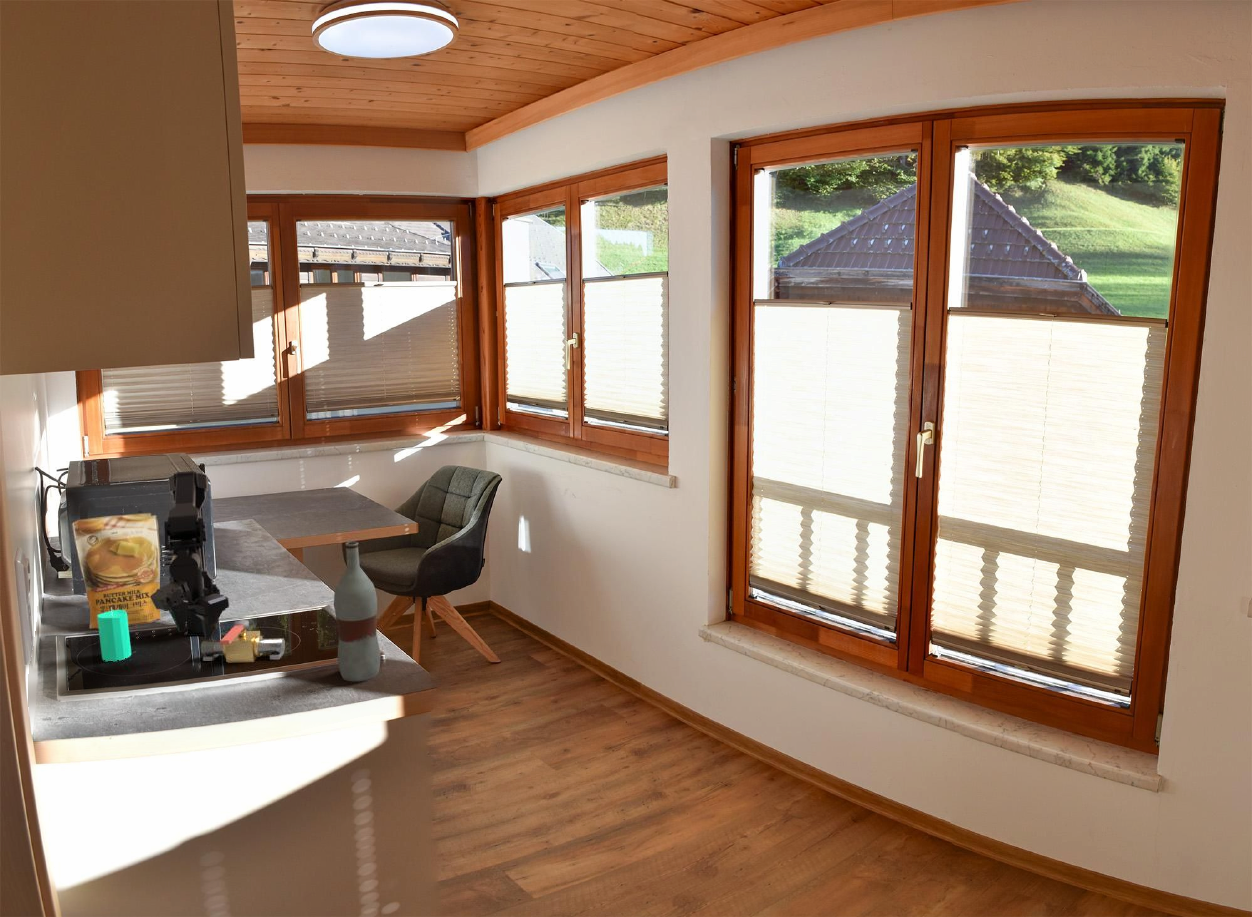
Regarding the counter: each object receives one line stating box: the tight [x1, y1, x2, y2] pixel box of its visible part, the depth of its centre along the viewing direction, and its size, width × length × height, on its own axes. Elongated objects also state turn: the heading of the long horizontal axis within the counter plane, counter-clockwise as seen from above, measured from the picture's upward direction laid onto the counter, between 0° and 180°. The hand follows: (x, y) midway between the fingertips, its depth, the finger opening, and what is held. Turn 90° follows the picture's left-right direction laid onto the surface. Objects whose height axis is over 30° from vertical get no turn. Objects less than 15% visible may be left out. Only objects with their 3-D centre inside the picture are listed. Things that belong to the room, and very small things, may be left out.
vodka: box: [333, 541, 382, 683], centre depth 207 cm, size 9×9×30 cm
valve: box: [200, 628, 286, 664], centre depth 219 cm, size 18×6×7 cm, turn 94°
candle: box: [97, 607, 132, 662], centre depth 220 cm, size 6×6×12 cm
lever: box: [220, 619, 250, 645], centre depth 214 cm, size 12×3×1 cm, turn 4°
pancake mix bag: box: [70, 512, 163, 630], centre depth 240 cm, size 7×19×28 cm, turn 115°
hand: (194, 635), depth 214 cm, fingers open, 9 cm apart
